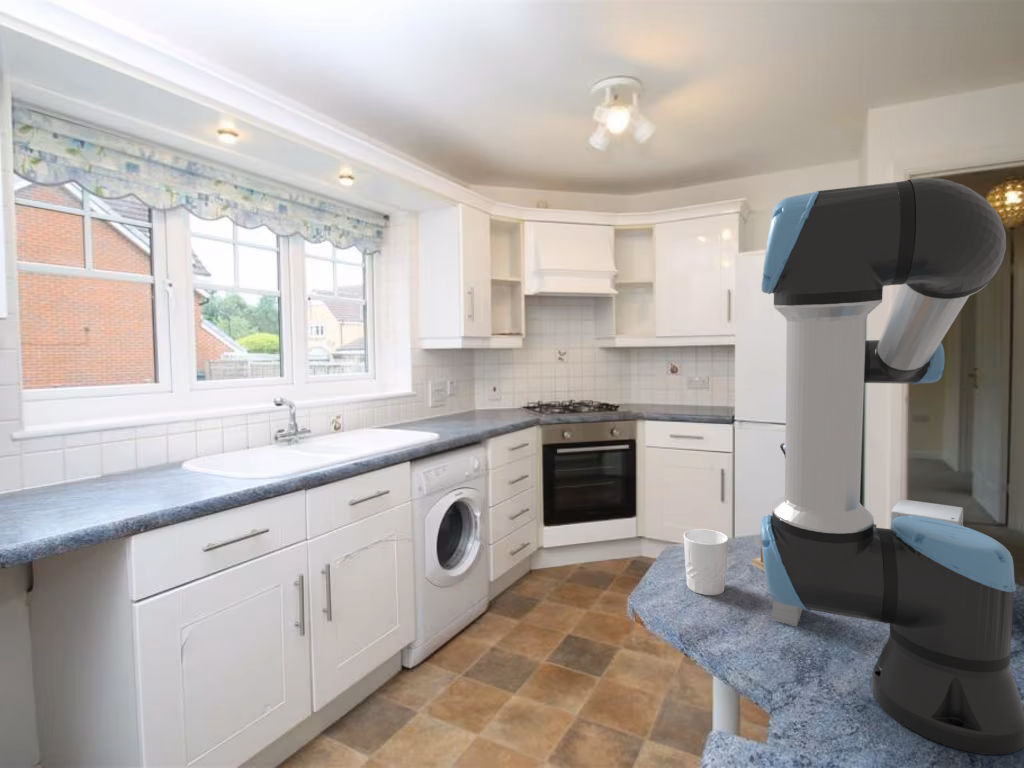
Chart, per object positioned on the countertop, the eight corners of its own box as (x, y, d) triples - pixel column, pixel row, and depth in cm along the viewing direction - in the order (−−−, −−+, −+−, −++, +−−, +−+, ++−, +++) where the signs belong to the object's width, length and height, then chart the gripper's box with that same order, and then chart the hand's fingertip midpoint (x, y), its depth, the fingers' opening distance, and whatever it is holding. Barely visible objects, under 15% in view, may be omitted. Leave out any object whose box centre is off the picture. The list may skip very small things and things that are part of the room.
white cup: (733, 585, 103) (734, 534, 102) (719, 601, 97) (719, 547, 96) (693, 574, 108) (693, 526, 107) (677, 589, 102) (676, 538, 101)
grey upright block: (802, 609, 93) (803, 553, 92) (797, 627, 88) (797, 567, 87) (779, 603, 95) (779, 548, 94) (772, 620, 90) (772, 562, 89)
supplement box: (962, 601, 94) (966, 507, 93) (958, 622, 87) (962, 521, 86) (896, 585, 101) (898, 497, 99) (886, 604, 94) (889, 509, 92)
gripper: (822, 404, 113) (821, 513, 115) (770, 407, 110) (769, 520, 112) (853, 408, 106) (851, 525, 108) (798, 412, 103) (797, 532, 105)
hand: (809, 522), depth 110 cm, fingers closed
